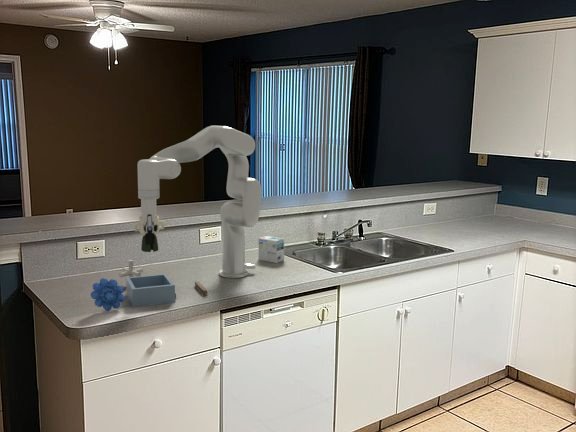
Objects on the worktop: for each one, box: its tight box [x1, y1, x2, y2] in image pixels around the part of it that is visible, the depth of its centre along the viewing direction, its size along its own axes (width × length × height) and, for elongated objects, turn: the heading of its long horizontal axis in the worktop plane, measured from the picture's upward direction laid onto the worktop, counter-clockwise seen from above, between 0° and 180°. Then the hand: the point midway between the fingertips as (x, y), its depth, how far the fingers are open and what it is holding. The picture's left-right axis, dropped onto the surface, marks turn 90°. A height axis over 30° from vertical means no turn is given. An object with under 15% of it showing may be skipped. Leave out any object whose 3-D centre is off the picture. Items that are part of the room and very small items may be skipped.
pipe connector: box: [118, 259, 144, 278], centre depth 230 cm, size 10×10×10 cm
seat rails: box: [175, 280, 208, 300], centre depth 223 cm, size 14×12×2 cm
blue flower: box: [90, 277, 126, 312], centre depth 200 cm, size 12×7×12 cm, turn 119°
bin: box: [125, 273, 176, 308], centre depth 215 cm, size 15×15×7 cm
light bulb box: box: [257, 235, 285, 264], centre depth 272 cm, size 11×7×11 cm, turn 58°
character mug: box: [133, 215, 165, 253], centre depth 212 cm, size 11×7×13 cm, turn 118°
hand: (149, 241), depth 212 cm, fingers closed on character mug, 7 cm apart
